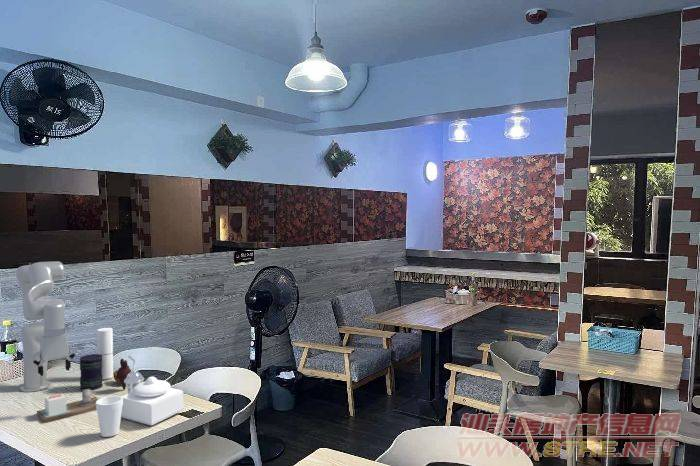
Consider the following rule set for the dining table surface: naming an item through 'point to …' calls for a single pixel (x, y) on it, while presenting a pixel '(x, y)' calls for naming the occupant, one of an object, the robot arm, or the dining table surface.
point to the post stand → (72, 408)
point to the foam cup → (109, 414)
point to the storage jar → (91, 372)
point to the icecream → (123, 372)
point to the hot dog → (116, 378)
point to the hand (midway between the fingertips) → (54, 372)
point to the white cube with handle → (55, 404)
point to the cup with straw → (133, 378)
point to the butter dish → (152, 402)
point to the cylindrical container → (106, 350)
